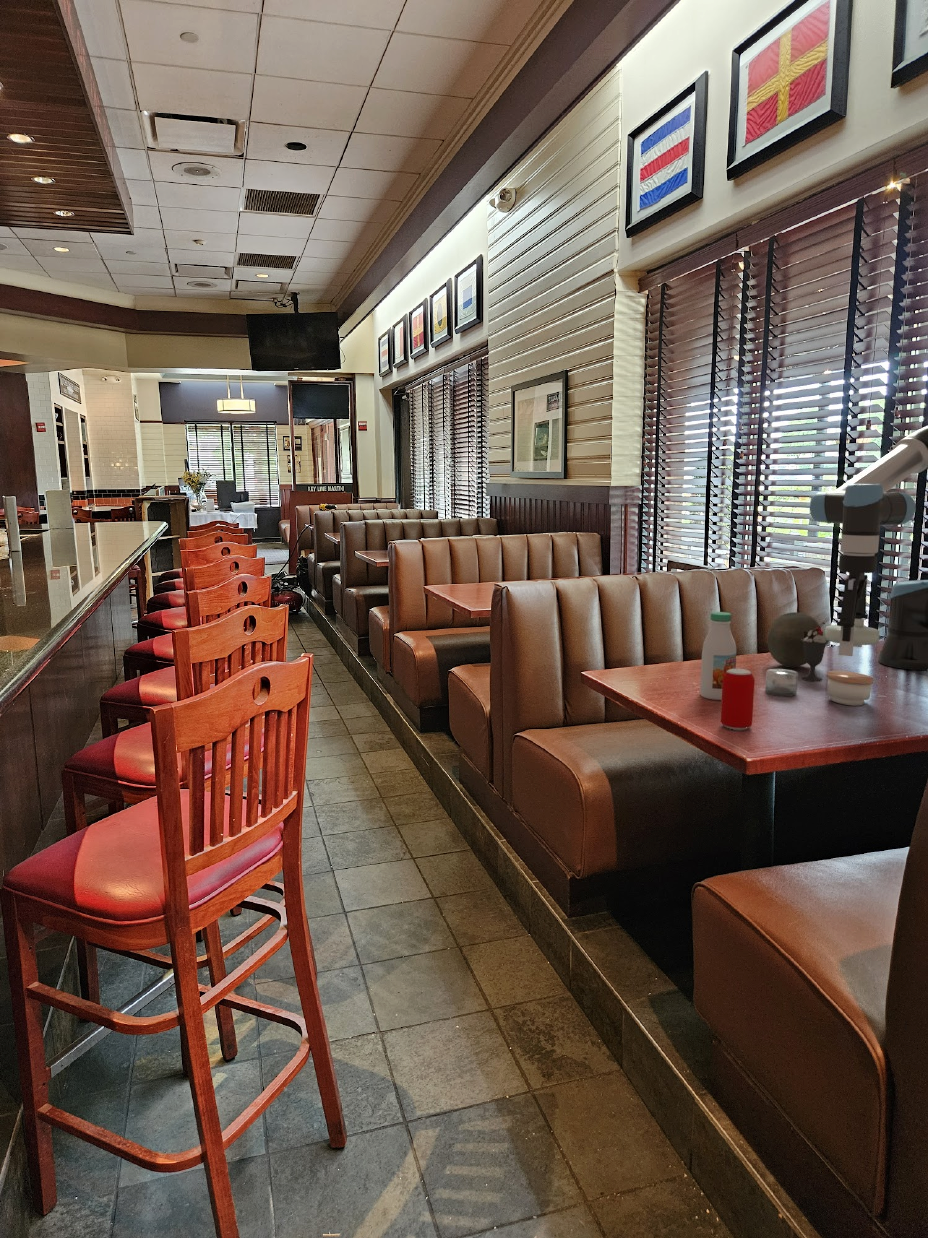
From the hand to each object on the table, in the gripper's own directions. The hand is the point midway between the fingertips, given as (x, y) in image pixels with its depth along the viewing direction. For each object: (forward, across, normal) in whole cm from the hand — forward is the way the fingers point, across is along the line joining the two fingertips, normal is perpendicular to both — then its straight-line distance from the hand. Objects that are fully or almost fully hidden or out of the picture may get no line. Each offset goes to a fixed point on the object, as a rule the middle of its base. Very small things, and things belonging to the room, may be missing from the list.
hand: (850, 650), depth 182 cm
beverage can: (+12, +33, -15) cm, 38 cm away
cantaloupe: (+12, -28, -18) cm, 36 cm away
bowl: (+12, 0, 0) cm, 12 cm away
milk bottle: (+12, +12, -26) cm, 31 cm away
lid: (-3, 0, 0) cm, 3 cm away
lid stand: (+12, 0, -14) cm, 19 cm away
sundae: (+12, -18, -11) cm, 24 cm away
